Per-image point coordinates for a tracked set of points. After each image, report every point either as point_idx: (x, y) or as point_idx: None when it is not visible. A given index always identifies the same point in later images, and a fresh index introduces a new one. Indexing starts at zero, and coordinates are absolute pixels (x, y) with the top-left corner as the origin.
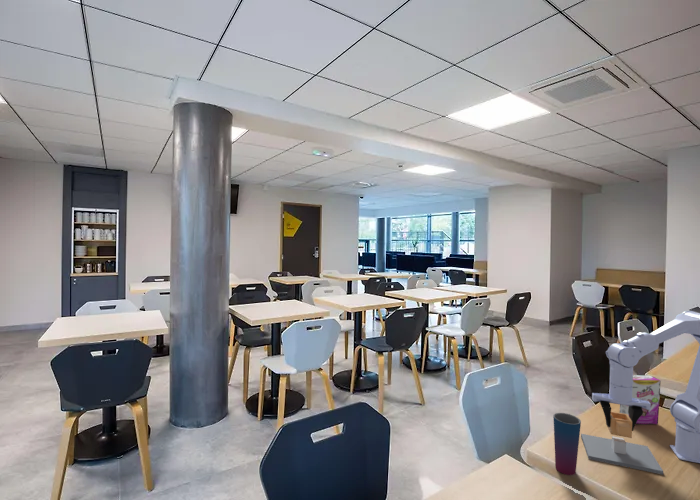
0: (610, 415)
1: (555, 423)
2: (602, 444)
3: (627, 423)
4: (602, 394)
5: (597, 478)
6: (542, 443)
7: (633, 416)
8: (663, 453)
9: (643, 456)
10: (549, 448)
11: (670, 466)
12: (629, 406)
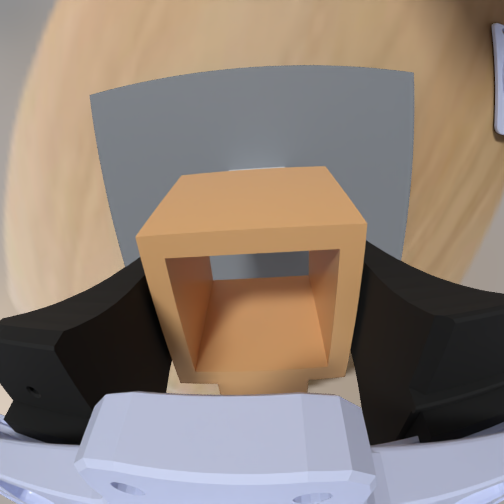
0: (169, 340)
1: None
2: (185, 163)
3: (300, 385)
4: (2, 488)
5: (177, 379)
6: (7, 255)
7: (366, 407)
8: (458, 91)
9: (364, 199)
10: (30, 278)
11: (444, 202)
12: (414, 350)
